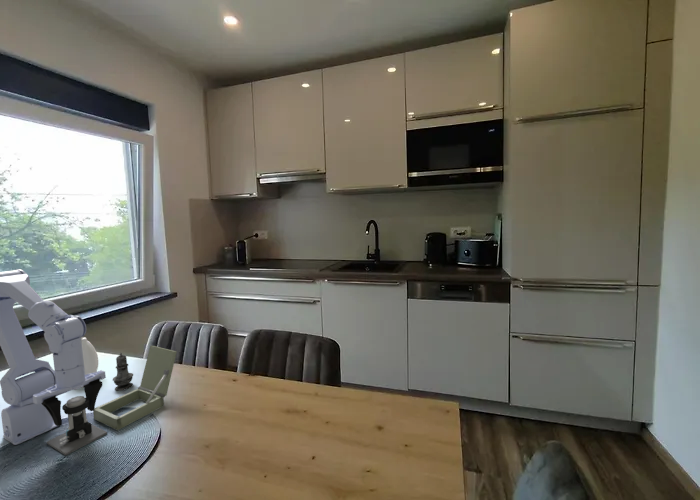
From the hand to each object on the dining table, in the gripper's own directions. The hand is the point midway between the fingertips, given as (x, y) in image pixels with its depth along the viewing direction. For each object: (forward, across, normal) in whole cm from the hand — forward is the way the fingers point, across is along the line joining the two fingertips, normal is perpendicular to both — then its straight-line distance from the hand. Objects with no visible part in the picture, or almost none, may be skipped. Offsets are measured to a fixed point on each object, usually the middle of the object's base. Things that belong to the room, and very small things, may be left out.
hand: (75, 416), depth 85 cm
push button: (+6, 0, 0) cm, 6 cm away
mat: (+6, 0, 0) cm, 6 cm away
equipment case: (+6, +16, 0) cm, 17 cm away
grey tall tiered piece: (+6, +21, +18) cm, 28 cm away
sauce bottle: (+6, +18, +36) cm, 41 cm away
